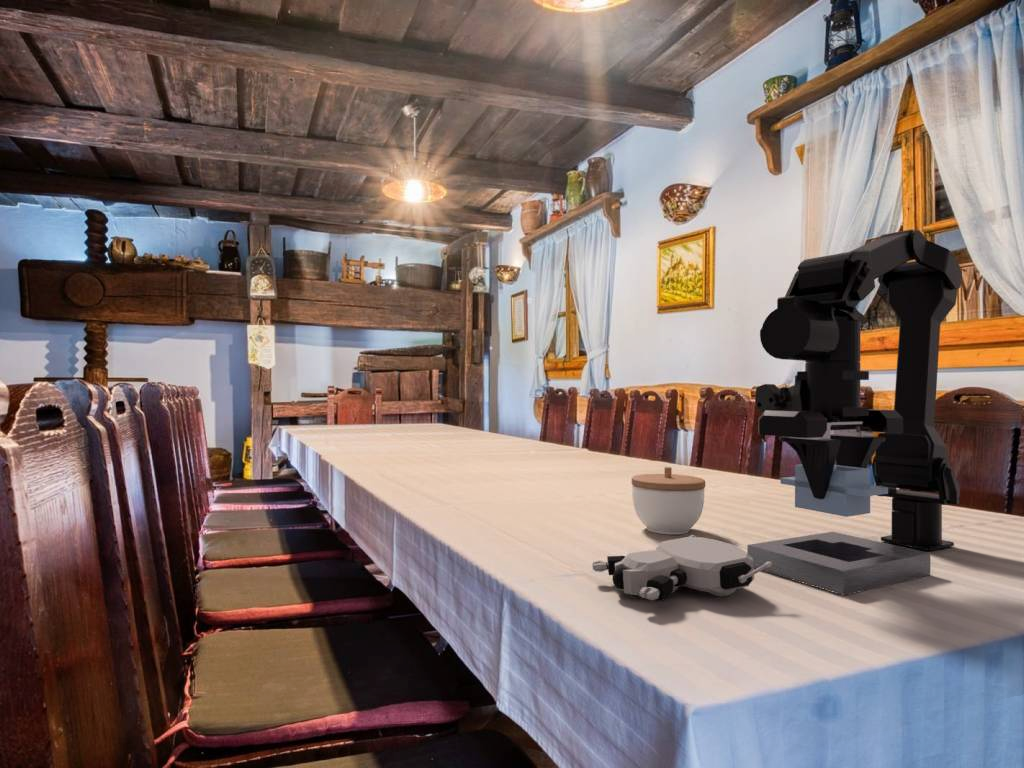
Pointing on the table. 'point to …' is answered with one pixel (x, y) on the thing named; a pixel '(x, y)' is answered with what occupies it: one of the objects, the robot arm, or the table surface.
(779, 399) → the robot arm
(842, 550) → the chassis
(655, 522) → the lidded jar
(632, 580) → the robot toy
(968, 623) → the table surface
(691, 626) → the table surface
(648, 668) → the table surface
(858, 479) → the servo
